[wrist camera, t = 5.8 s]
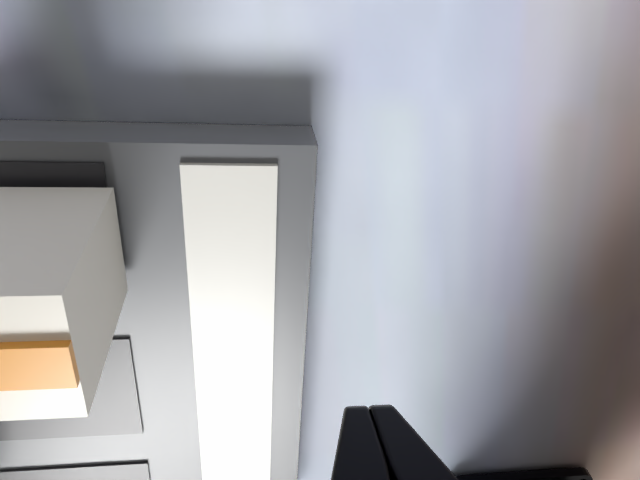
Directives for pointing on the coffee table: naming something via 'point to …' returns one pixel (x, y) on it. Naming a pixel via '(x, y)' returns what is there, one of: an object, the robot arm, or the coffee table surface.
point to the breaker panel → (183, 299)
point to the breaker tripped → (57, 298)
